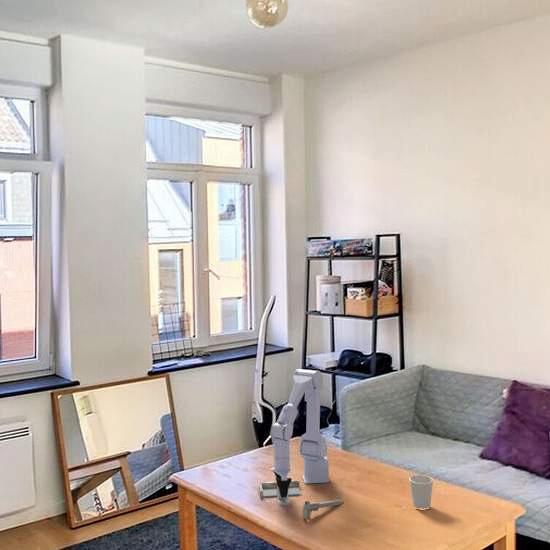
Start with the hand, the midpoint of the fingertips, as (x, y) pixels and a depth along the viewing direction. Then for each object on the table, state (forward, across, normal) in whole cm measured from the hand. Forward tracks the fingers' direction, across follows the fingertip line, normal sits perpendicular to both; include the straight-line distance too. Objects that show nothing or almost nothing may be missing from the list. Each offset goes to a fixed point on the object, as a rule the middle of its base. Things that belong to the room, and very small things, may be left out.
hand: (282, 493), depth 240 cm
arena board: (+2, -7, 0) cm, 7 cm away
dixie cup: (+2, +14, +47) cm, 49 cm away
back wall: (+2, -11, 0) cm, 11 cm away
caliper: (+3, +12, +13) cm, 18 cm away
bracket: (+2, +2, 0) cm, 3 cm away
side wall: (+2, -7, -8) cm, 10 cm away
